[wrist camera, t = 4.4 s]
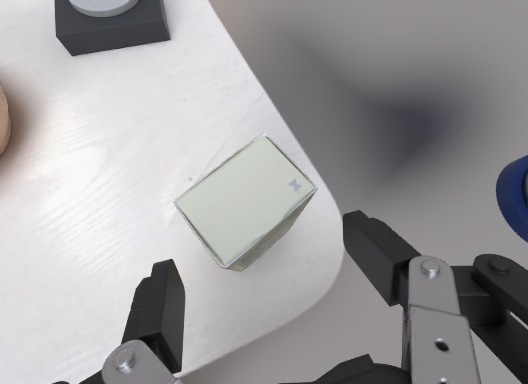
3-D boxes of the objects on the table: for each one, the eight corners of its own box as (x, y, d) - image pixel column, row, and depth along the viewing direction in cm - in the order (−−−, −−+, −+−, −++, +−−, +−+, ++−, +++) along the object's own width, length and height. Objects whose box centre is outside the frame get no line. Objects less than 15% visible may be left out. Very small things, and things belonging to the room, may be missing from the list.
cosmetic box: (261, 195, 26) (268, 125, 14) (291, 229, 25) (325, 184, 14) (207, 238, 25) (167, 199, 13) (237, 276, 24) (223, 271, 12)
